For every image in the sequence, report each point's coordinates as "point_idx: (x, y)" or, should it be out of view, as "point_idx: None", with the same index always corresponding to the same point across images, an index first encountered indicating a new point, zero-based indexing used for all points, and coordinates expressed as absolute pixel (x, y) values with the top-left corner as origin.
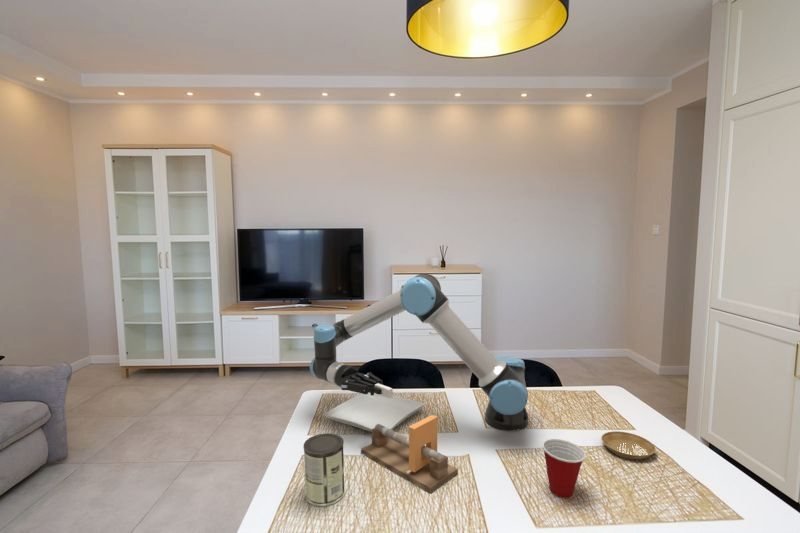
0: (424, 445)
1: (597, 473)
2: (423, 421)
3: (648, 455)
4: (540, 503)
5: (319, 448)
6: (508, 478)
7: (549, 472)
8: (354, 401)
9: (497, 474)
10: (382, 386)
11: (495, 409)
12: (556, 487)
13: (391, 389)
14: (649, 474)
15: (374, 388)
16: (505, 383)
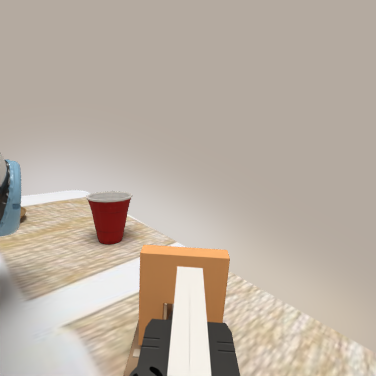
0: (170, 313)
1: (60, 229)
2: (184, 251)
3: (21, 207)
4: (142, 244)
5: None
6: (113, 268)
7: (121, 221)
8: None
9: (111, 278)
10: (193, 310)
11: (16, 228)
12: (123, 230)
13: (185, 269)
14: (47, 213)
15: (235, 363)
16: (19, 165)
